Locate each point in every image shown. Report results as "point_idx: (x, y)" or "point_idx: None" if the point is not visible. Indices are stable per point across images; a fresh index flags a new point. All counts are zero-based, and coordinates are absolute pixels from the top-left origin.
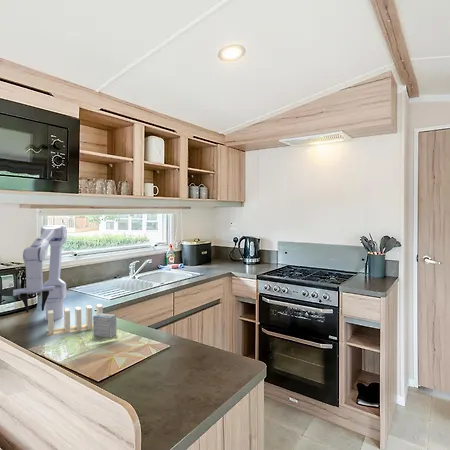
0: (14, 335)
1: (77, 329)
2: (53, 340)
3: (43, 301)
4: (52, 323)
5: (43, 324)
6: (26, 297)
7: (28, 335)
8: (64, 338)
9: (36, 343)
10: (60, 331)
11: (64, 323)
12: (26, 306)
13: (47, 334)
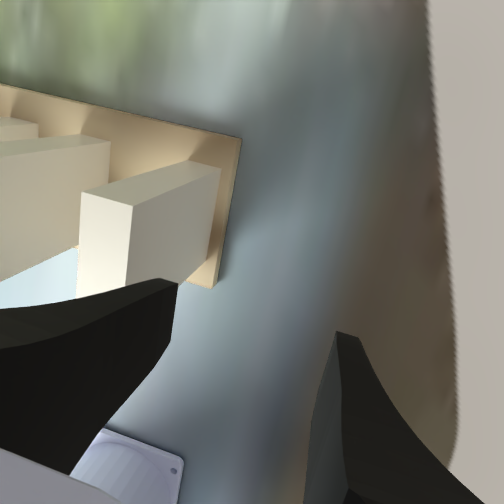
0: (409, 380)
1: (32, 122)
2: (219, 45)
3: (75, 313)
4: (154, 175)
5: (198, 444)
6: (375, 493)
7: (333, 306)
8: (143, 34)
9: (341, 67)
10: None
11: (78, 224)
12: (362, 380)
13: (228, 182)
